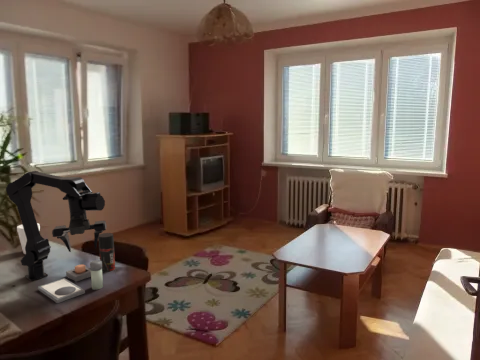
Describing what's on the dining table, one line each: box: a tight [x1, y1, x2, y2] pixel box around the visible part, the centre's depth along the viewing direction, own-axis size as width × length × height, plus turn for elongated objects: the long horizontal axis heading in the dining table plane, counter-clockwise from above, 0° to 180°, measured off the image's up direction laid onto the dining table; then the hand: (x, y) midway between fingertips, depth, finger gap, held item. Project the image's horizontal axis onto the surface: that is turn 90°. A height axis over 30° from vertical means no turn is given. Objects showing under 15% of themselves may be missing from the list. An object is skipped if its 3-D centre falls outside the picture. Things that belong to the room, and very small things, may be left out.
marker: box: [89, 259, 104, 291], centre depth 142 cm, size 4×4×10 cm
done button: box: [74, 264, 86, 275], centre depth 153 cm, size 4×4×2 cm
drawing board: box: [37, 277, 86, 304], centre depth 139 cm, size 16×10×1 cm, turn 50°
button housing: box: [65, 265, 91, 282], centre depth 153 cm, size 8×8×2 cm
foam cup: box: [16, 222, 41, 255], centre depth 179 cm, size 10×9×13 cm
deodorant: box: [98, 232, 116, 273], centre depth 159 cm, size 6×6×15 cm
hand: (83, 249), depth 145 cm, fingers open, 9 cm apart
